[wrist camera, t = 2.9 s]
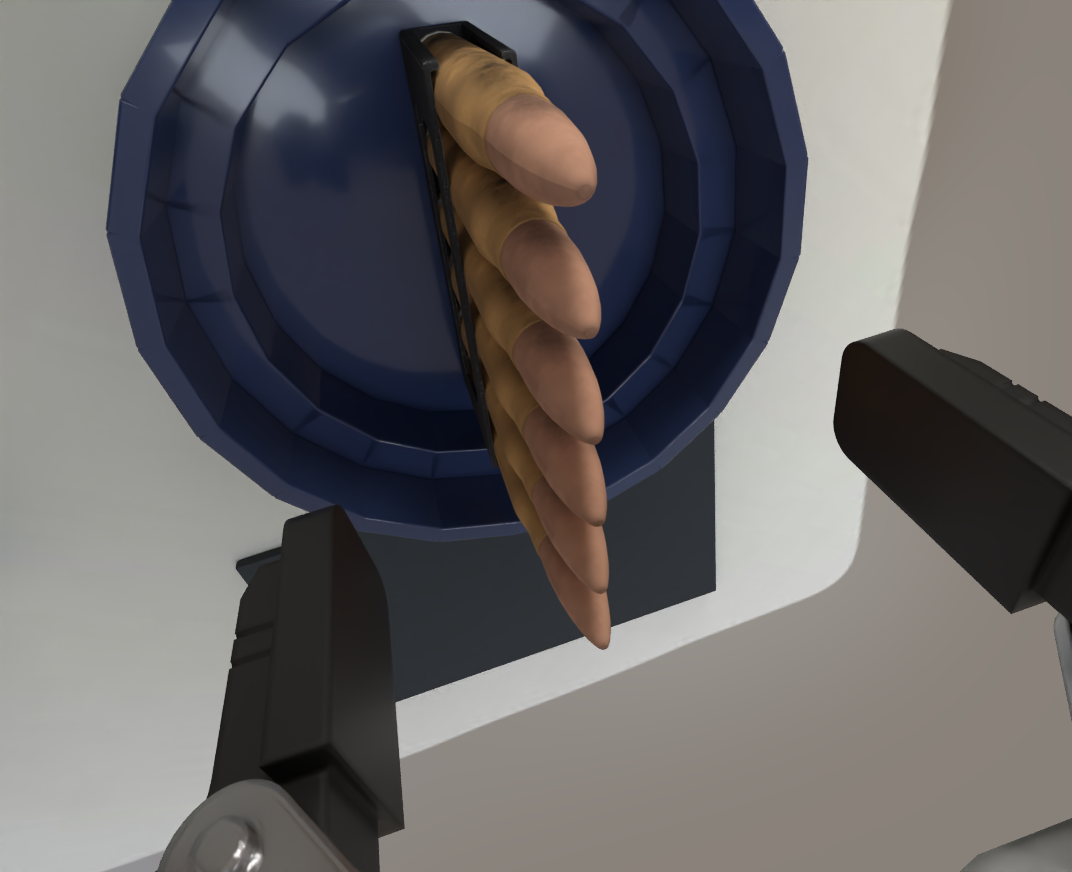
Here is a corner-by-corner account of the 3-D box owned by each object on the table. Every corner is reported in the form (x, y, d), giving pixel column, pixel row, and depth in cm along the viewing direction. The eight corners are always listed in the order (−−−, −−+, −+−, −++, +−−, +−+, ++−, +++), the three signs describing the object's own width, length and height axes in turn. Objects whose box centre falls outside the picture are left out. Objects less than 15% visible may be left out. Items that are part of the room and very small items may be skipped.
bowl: (314, 496, 24) (310, 603, 20) (11, -29, 14) (-125, -32, 9) (711, 370, 25) (785, 447, 21) (705, -190, 15) (843, -250, 11)
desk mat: (349, 711, 32) (350, 718, 32) (236, 561, 24) (234, 568, 24) (712, 585, 34) (716, 591, 33) (710, 409, 26) (714, 414, 26)
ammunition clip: (516, 376, 22) (647, 662, 13) (465, 387, 22) (562, 687, 13) (470, 20, 16) (666, 82, 7) (397, 29, 16) (494, 109, 6)
